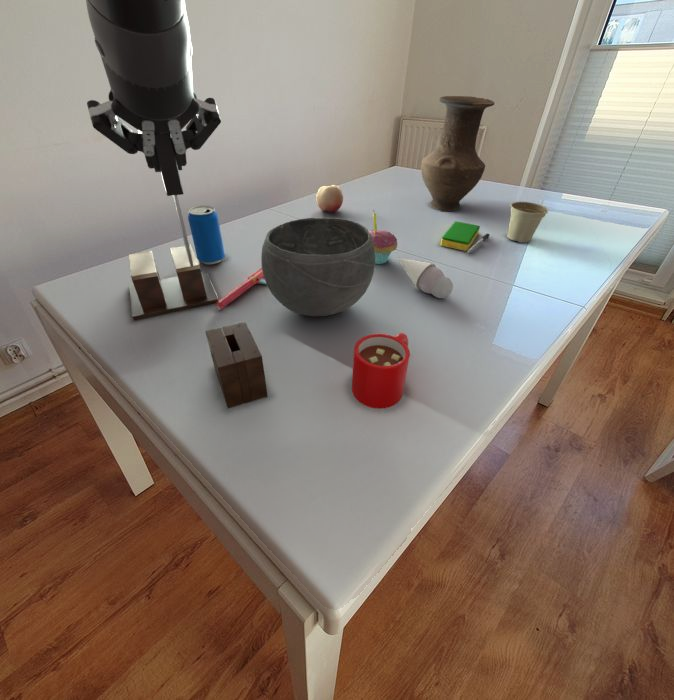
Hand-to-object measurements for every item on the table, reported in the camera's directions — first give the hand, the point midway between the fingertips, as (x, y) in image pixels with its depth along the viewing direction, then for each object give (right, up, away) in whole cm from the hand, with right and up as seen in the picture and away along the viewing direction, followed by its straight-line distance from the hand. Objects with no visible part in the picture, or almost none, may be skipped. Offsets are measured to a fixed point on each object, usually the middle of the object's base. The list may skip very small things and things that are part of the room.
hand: (166, 164), depth 49 cm
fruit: (+20, +20, +71) cm, 76 cm away
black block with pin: (+1, -11, +7) cm, 13 cm away
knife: (+59, +3, +51) cm, 78 cm away
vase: (+58, +24, +77) cm, 99 cm away
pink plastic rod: (+5, -10, +34) cm, 35 cm away
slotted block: (-12, -13, +29) cm, 34 cm away
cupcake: (+32, -2, +44) cm, 55 cm away
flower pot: (+73, +7, +57) cm, 93 cm away
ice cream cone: (+40, -11, +34) cm, 54 cm away
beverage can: (-8, -2, +43) cm, 44 cm away
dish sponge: (+56, +6, +55) cm, 79 cm away
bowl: (+19, -15, +28) cm, 37 cm away
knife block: (+7, -29, +10) cm, 32 cm away
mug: (+30, -29, +11) cm, 43 cm away
